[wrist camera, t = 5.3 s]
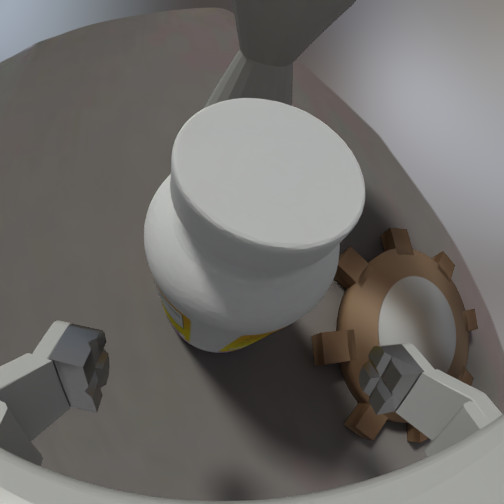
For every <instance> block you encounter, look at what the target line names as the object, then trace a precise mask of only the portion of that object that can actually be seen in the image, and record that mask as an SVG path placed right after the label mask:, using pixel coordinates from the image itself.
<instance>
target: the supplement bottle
mask: <svg viewBox="0 0 504 504" xmlns="http://www.w3.org/2000/svg"><path fill="white" fill-rule="evenodd" d="M364 204H365V184H364V179H363V176H362V172H361V169H360V167H359V164H358V162H357V160H356V158H355V156H354V155H353V153H352V151H351V150H350V149H349V147H348V146H347V145H346V143H345V142H344V141H343V140H342V139H341V138H340V137H339V135H337V134H336V133H335V132H334V131H333V130H332V129H331V128H329V127H328V126H327V125H326V124H324V123H323V122H322V121H320V120H319V119H317V118H315V117H314V116H312V115H311V114H309V113H307V112H305V111H303V110H301V109H298V108H296V107H293V106H290V105H287V104H284V103H281V102H277V101H272V100H266V99H257V98H239V99H231V100H226V101H222V102H218V103H216V104H213V105H211V106H208V107H206V108H204V109H202V110H201V111H199V112H197V113H196V114H195V115H194V116H192V117H191V118H190V119H189V120H188V121H187V122H186V123H185V124H184V125H183V127H182V128H181V130H180V131H179V133H178V135H177V137H176V140H175V142H174V145H173V150H172V157H171V174H170V175H169V176H168V177H167V178H166V180H165V181H164V182H163V183H162V184H161V186H160V187H159V189H158V190H157V192H156V193H155V195H154V197H153V199H152V201H151V203H150V206H149V209H148V212H147V216H146V220H145V226H144V245H145V252H146V257H147V260H148V264H149V268H150V271H151V274H152V276H153V279H154V282H155V285H156V288H157V290H158V293H159V296H160V299H161V302H162V305H163V307H164V310H165V313H166V315H167V318H168V320H169V322H170V323H171V325H172V327H173V328H174V329H175V331H176V332H177V333H178V334H179V335H180V336H181V337H182V338H183V339H184V340H185V341H186V342H188V343H189V344H191V345H193V346H194V347H196V348H199V349H201V350H205V351H209V352H216V353H224V352H231V351H235V350H238V349H241V348H244V347H246V346H248V345H250V344H252V343H254V342H256V341H258V340H260V339H262V338H264V337H266V336H268V335H270V334H272V333H274V332H276V331H278V330H280V329H282V328H284V327H286V326H288V325H290V324H292V323H293V322H295V321H297V320H299V319H300V318H302V317H303V316H304V315H306V314H307V313H308V312H310V311H311V310H312V309H313V308H314V307H315V306H316V305H317V304H318V303H319V302H320V301H321V299H322V298H323V297H324V295H325V294H326V292H327V291H328V289H329V287H330V286H331V284H332V281H333V279H334V277H335V274H336V271H337V266H338V262H339V252H340V242H341V241H342V240H343V239H344V238H345V237H346V236H347V235H348V234H349V233H350V232H351V231H352V229H353V228H354V227H355V225H356V224H357V222H358V220H359V218H360V216H361V214H362V212H363V208H364Z"/></svg>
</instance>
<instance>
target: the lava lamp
mask: <svg viewBox="0 0 504 504" xmlns="http://www.w3.org/2000/svg"><path fill="white" fill-rule="evenodd" d="M355 1H356V0H232V2H233V8H234V14H235V20H236V26H237V32H238V38H239V44H240V50H239V51H238V53H237V54H236V56H235V57H234V59H233V61H232V62H231V64H230V65H229V67H228V68H227V70H226V72H225V73H224V75H223V76H222V78H221V80H220V81H219V83H218V85H217V86H216V88H215V90H214V91H213V93H212V95H211V96H210V98H209V100H208V102H207V103H206V105H205V107H204V108H206V107H208V106H211V105H213V104H216V103H218V102H222V101H226V100H231V99H239V98H257V99H266V100H272V101H277V102H281V103H284V104H287V105H290V106H292V79H293V62H294V61H295V60H296V59H297V57H299V56H300V54H301V53H302V52H303V51H304V50H305V49H306V48H307V47H308V46H309V45H310V44H311V43H312V42H313V41H314V40H315V39H316V38H317V37H318V36H319V35H320V34H321V33H322V32H324V30H326V29H327V28H328V27H329V26H330V25H331V24H332V23H333V22H334V21H335V20H336V19H337V18H338V17H339V16H341V15H342V14H343V13H344V12H345V11H346V10H347V9H348V8H349V7H351V6H352V5H353V4H354V2H355Z"/></svg>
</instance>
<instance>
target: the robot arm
mask: <svg viewBox="0 0 504 504" xmlns="http://www.w3.org/2000/svg"><path fill="white" fill-rule="evenodd" d="M105 344H106V338H105V333H104V332H103V331H102V330H99V329H94V328H90V327H85V326H81V325H76V324H71V323H67V322H63V321H59V320H57V321H55V322H53V324H52V325H51V327H50V328H49V330H48V331H47V332H46V334H45V335H44V337H43V338H42V340H41V341H40V343H39V344H38V346H37V347H36V349H35V350H34V352H33V353H32V354H29V353H27V354H25V355H23V356H21V357H19V358H17V359H15V360H13V361H11V362H8V363H6V364H4V365H2V366H0V504H504V414H501V412H500V411H499V410H498V409H497V407H496V406H495V405H494V404H493V403H492V401H491V400H490V399H489V398H488V397H487V395H486V394H485V393H483V392H481V391H479V390H477V389H475V388H473V387H471V386H469V385H467V384H465V383H463V382H462V381H460V380H458V379H456V378H454V377H452V376H450V375H448V374H446V373H444V372H442V371H440V370H438V369H437V370H435V369H434V368H433V367H432V366H431V365H430V363H429V362H428V361H427V360H426V359H425V357H424V356H423V355H422V354H421V353H420V352H419V351H418V349H417V348H416V347H415V346H414V345H413V344H411V343H409V342H407V343H399V344H391V345H379V346H374V347H373V348H372V349H371V350H370V352H369V354H368V357H369V361H368V362H366V363H365V364H364V365H363V366H362V369H361V371H360V373H359V383H360V387H361V389H362V390H363V392H365V393H366V394H368V395H369V403H370V405H371V406H372V408H373V410H374V412H375V414H376V415H379V414H384V413H389V412H394V411H396V413H397V414H398V415H400V416H401V417H402V418H404V419H405V420H406V421H407V422H409V423H410V424H411V425H413V426H414V427H415V428H416V429H418V430H419V431H420V432H422V433H423V434H424V435H426V436H427V437H428V438H430V439H431V440H432V441H431V442H430V444H429V445H428V446H427V447H426V448H425V453H426V454H427V456H428V457H426V458H424V459H422V460H420V461H417V462H415V463H413V464H410V465H408V466H405V467H403V468H400V469H397V470H395V471H392V472H389V473H386V474H383V475H380V476H377V477H374V478H371V479H368V480H364V481H361V482H357V483H354V484H350V485H346V486H342V487H338V488H333V489H329V490H324V491H319V492H314V493H309V494H303V495H296V496H289V497H281V498H272V499H261V500H245V501H198V500H182V499H171V498H162V497H154V496H147V495H141V494H135V493H129V492H124V491H119V490H115V489H110V488H106V487H102V486H98V485H94V484H91V483H87V482H84V481H80V480H77V479H74V478H71V477H68V476H65V475H62V474H59V473H57V472H54V471H51V470H49V469H46V468H43V467H41V463H42V459H43V458H42V456H41V454H40V453H39V451H38V450H37V449H36V447H35V446H34V445H33V444H32V442H31V441H32V440H33V439H34V438H36V437H37V436H38V435H39V434H40V433H41V432H43V431H44V430H45V429H46V428H47V427H49V426H50V425H51V424H52V423H53V422H55V421H56V420H57V419H58V418H59V417H60V416H62V415H63V414H64V413H65V412H66V411H68V410H69V409H70V407H74V408H78V409H82V410H86V411H91V412H96V413H97V412H98V408H99V405H100V402H101V399H102V392H101V387H103V386H104V385H106V383H107V379H108V375H109V356H108V353H107V352H106V351H105V350H104V346H105Z"/></svg>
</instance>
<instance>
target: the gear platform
mask: <svg viewBox="0 0 504 504" xmlns="http://www.w3.org/2000/svg"><path fill="white" fill-rule="evenodd" d="M381 240H382V244H383V248H384V252H383V253H381V254H380V255H378V256H377V257H375V258H374V259H372V260H371V261H370V262H367V261H366V260H365V259H364V258H363V257H362V256H360V255H359V254H358V253H357V252H356V251H355V250H354V249H353V248H352V247H351V246H350V247H349V248H348V249H347V250H345V251H344V252H343V253H342V254H341V255H340V256H339V262H338V266H337V271H336V274H335V277H334V278H335V279H336V280H337V281H338V282H339V283H340V284H341V285H342V286H343V287H344V288H345V289H346V290H345V292H344V295H343V297H342V300H341V304H340V307H339V311H338V318H337V327H336V331H335V332H324V333H319V334H316V335H313V336H312V346H313V356H314V366H317V365H326V364H332V363H339V364H340V367H341V371H342V374H343V377H344V379H345V381H346V384H347V386H348V388H349V389H350V391H351V393H352V395H353V396H354V397H355V399H356V400H357V401H358V404H357V406H356V407H355V409H354V410H353V412H352V413H351V415H350V416H349V417H348V419H347V420H346V422H345V423H344V425H345V426H346V427H348V428H349V429H350V430H352V431H353V432H354V433H356V434H357V435H359V436H360V437H362V438H366V439H370V440H374V439H375V437H376V436H377V434H378V433H379V431H380V430H381V428H382V427H383V425H384V424H385V422H386V420H387V421H392V422H402V423H407V441H410V442H417V443H421V442H423V441H425V440H427V439H429V438H428V437H427V436H426V435H424V434H423V433H422V432H420V431H419V430H418V429H416V428H415V427H414V426H413V425H411V424H410V423H409V422H407V421H406V420H405V419H404V418H402V417H401V416H400V415H398V414H397V413H396V411H394V412H389V413H384V414H379V415H376V414H375V412H374V410H373V408H372V406H371V405H370V403H369V395H368V394H366V393H365V392H363V390H362V389H361V387H360V383H359V373H360V371H361V369H362V366H363V365H364V364H365V363H366V362H368V361H369V357H368V354H369V352H370V350H371V349H372V348H373V347H374V346H379V345H391V344H399V343H407V342H409V343H411V344H413V345H414V346H415V347H416V348H417V349H418V351H419V352H420V353H421V354H422V355H423V356H424V357H425V359H426V360H427V361H428V362H429V363H430V365H431V366H432V367H433V368H434V369H435V370H437V369H438V370H440V371H442V372H444V373H446V374H448V375H450V376H452V377H454V378H456V379H458V380H460V381H462V382H463V383H465V384H467V385H469V386H471V384H472V381H473V379H474V378H473V377H472V376H471V374H470V373H469V372H468V371H467V369H466V364H467V359H468V351H469V331H472V330H475V329H478V326H477V320H476V314H475V309H471V310H467V311H465V308H464V305H463V302H462V299H461V297H460V294H459V292H458V290H457V288H456V286H455V284H454V283H453V281H452V280H451V277H452V274H453V270H454V267H455V265H454V263H453V262H452V261H451V260H450V259H449V257H448V256H447V255H446V254H445V253H444V252H443V251H442V252H441V253H439V254H438V255H436V256H434V257H433V258H430V257H429V256H427V255H425V254H423V253H421V252H419V251H416V250H413V249H412V246H411V242H410V239H409V235H408V232H407V229H398V228H389V229H388V230H387V231H386V232H384V233H383V234H382V235H381Z"/></svg>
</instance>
